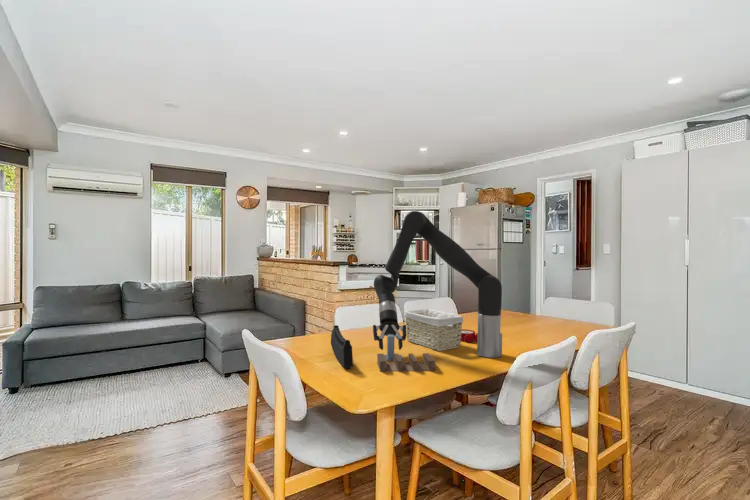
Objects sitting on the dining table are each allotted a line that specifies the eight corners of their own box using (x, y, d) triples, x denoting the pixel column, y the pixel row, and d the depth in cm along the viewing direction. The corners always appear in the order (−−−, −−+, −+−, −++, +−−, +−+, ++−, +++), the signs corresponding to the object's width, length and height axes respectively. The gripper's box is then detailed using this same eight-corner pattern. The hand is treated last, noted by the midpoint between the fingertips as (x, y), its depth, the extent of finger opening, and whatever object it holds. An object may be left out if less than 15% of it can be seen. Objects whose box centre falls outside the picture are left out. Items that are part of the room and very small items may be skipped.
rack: (428, 363, 151) (429, 353, 151) (435, 371, 141) (435, 360, 141) (377, 363, 149) (377, 353, 149) (380, 372, 140) (380, 361, 140)
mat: (401, 355, 162) (401, 354, 162) (404, 361, 153) (404, 360, 153) (376, 355, 161) (376, 354, 161) (379, 361, 152) (379, 361, 152)
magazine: (354, 347, 139) (340, 309, 166) (345, 347, 138) (332, 310, 165) (351, 388, 144) (337, 345, 171) (342, 389, 143) (330, 346, 170)
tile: (392, 356, 159) (393, 334, 159) (394, 359, 155) (394, 336, 155) (386, 356, 159) (387, 334, 159) (388, 359, 155) (388, 336, 155)
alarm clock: (464, 328, 201) (485, 327, 188) (466, 341, 200) (487, 340, 187) (448, 330, 196) (469, 329, 183) (450, 343, 195) (470, 343, 182)
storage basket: (464, 348, 176) (465, 315, 176) (438, 353, 167) (438, 318, 167) (428, 337, 196) (428, 308, 196) (402, 341, 187) (403, 310, 186)
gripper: (371, 308, 164) (373, 343, 152) (405, 308, 165) (410, 343, 153) (370, 319, 169) (372, 353, 157) (403, 319, 170) (407, 353, 159)
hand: (391, 348), depth 155 cm, fingers open, 6 cm apart
